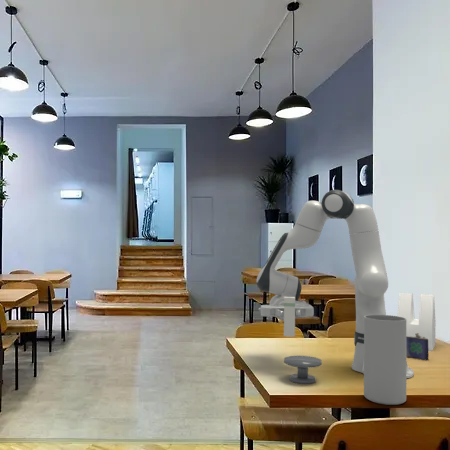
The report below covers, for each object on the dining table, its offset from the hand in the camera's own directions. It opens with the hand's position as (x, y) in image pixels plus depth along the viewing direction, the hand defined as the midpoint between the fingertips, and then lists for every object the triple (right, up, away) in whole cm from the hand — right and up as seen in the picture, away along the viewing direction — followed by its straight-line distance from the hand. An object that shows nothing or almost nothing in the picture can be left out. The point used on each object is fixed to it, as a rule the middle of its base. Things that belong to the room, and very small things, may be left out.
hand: (290, 313), depth 171 cm
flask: (+58, -25, +28) cm, 69 cm away
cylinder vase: (+26, -22, -27) cm, 43 cm away
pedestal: (+3, -22, -8) cm, 23 cm away
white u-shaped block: (+69, -26, +55) cm, 92 cm away
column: (0, -8, +1) cm, 8 cm away
